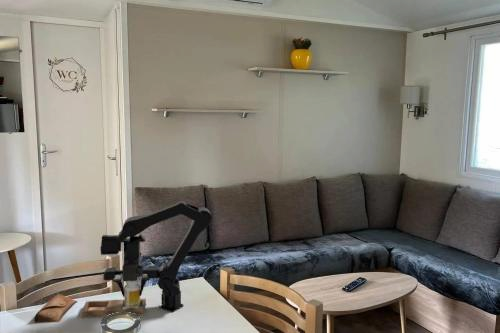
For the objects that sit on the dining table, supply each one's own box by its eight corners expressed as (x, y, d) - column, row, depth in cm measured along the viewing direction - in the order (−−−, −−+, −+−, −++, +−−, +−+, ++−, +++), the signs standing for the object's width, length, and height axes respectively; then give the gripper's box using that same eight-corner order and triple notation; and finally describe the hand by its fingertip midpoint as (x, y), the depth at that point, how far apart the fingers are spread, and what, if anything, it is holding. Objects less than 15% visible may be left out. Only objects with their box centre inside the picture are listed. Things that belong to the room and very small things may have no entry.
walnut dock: (145, 303, 163) (145, 298, 162) (144, 314, 154) (144, 308, 154) (86, 306, 159) (86, 301, 159) (81, 317, 150) (81, 312, 150)
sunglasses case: (60, 322, 146) (49, 305, 146) (41, 332, 146) (30, 316, 146) (78, 300, 164) (69, 285, 164) (62, 309, 164) (52, 294, 164)
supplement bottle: (143, 303, 159) (142, 277, 158) (134, 309, 154) (134, 283, 153) (130, 301, 161) (130, 275, 160) (121, 307, 156) (121, 280, 155)
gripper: (100, 261, 146) (101, 307, 148) (157, 260, 149) (157, 304, 151) (105, 251, 157) (106, 293, 158) (159, 250, 160) (159, 291, 162)
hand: (132, 296), depth 157 cm, fingers closed on supplement bottle, 5 cm apart
